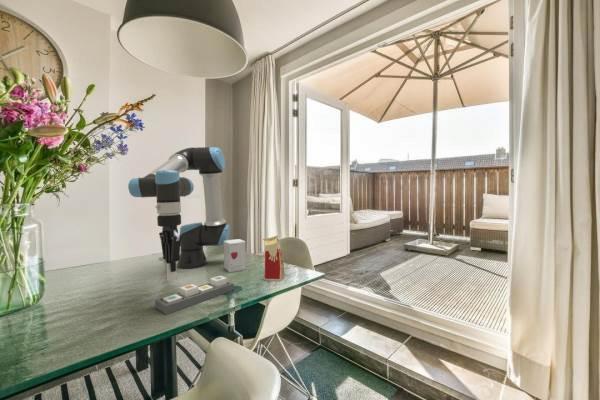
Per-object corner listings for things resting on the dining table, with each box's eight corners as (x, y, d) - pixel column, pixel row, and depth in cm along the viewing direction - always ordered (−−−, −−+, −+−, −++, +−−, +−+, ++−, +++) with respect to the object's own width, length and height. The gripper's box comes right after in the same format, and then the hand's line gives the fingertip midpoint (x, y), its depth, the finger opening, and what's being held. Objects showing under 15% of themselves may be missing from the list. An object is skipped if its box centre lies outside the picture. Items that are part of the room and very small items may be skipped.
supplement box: (229, 272, 132) (228, 243, 131) (223, 268, 139) (223, 240, 138) (246, 269, 137) (245, 241, 136) (240, 265, 144) (239, 238, 143)
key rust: (180, 294, 98) (179, 287, 98) (192, 290, 102) (192, 283, 102) (186, 297, 95) (185, 290, 95) (198, 293, 99) (198, 286, 99)
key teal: (162, 305, 94) (162, 297, 93) (176, 301, 97) (176, 293, 97) (168, 309, 90) (168, 301, 90) (182, 304, 94) (182, 296, 94)
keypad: (155, 307, 94) (154, 299, 93) (221, 285, 114) (221, 279, 114) (165, 314, 88) (165, 306, 88) (233, 290, 108) (233, 283, 108)
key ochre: (195, 294, 103) (195, 287, 103) (207, 290, 107) (206, 284, 106) (202, 297, 100) (202, 290, 100) (213, 293, 103) (213, 286, 103)
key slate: (210, 284, 108) (210, 278, 107) (220, 281, 111) (220, 275, 111) (216, 287, 104) (216, 280, 104) (227, 284, 108) (226, 277, 108)
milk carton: (284, 274, 127) (283, 233, 126) (281, 281, 118) (280, 237, 117) (266, 274, 128) (265, 233, 127) (261, 280, 119) (260, 237, 118)
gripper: (150, 214, 94) (153, 279, 95) (166, 216, 85) (169, 287, 87) (171, 212, 100) (174, 273, 101) (188, 214, 91) (191, 281, 92)
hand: (172, 279), depth 94 cm, fingers closed
